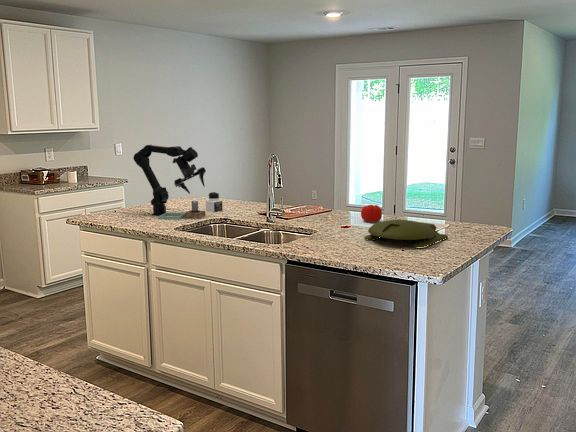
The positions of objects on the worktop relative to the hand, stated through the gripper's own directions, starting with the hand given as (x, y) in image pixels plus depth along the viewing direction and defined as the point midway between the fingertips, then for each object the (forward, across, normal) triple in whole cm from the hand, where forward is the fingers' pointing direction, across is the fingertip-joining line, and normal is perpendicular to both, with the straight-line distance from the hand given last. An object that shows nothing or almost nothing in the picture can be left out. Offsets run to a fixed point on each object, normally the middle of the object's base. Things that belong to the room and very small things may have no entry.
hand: (197, 190), depth 323 cm
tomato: (+64, +71, -29) cm, 99 cm away
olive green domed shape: (+78, +61, -71) cm, 122 cm away
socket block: (+14, -8, +3) cm, 16 cm away
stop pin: (+13, -8, +2) cm, 15 cm away
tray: (+8, -19, +5) cm, 21 cm away
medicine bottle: (+14, +6, +20) cm, 25 cm away
